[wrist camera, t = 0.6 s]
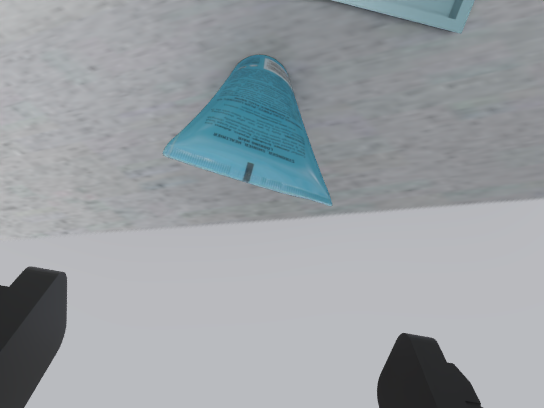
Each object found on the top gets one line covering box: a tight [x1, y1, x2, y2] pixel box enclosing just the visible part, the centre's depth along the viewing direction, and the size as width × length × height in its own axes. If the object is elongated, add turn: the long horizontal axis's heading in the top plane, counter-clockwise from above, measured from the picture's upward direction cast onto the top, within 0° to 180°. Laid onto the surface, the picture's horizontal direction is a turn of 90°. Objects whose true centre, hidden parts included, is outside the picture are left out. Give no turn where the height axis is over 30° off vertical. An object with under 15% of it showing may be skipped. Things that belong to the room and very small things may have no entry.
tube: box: [163, 55, 332, 206], centre depth 26 cm, size 7×5×19 cm, turn 76°
